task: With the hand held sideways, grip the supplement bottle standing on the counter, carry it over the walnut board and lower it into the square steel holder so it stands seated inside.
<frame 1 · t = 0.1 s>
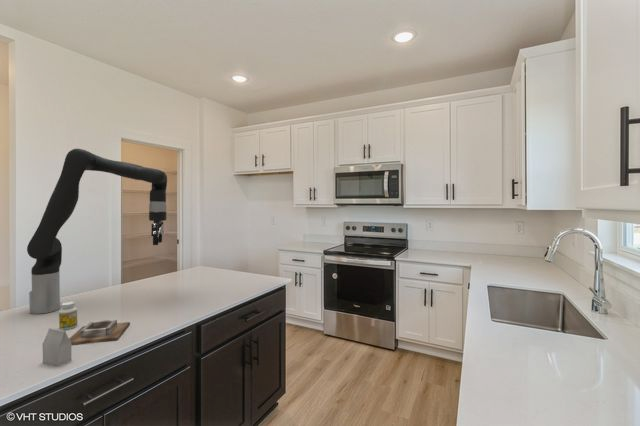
hand: (157, 243, 146), 29 cm above the countertop, tool pointing down, fingers open, 8 cm apart
holder board: (99, 334, 112), on the countertop
grey gable-top carton: (57, 361, 93), on the countertop
supplement bottle: (68, 327, 117), on the countertop
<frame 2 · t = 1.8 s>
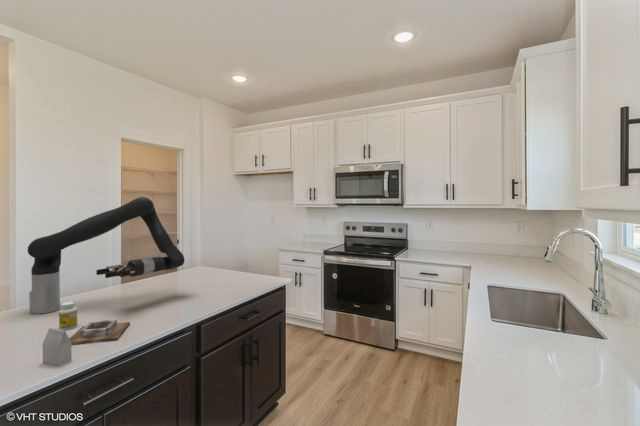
hand: (101, 274, 126), 19 cm above the countertop, tool horizontal, fingers open, 8 cm apart
nothing on the countertop moved.
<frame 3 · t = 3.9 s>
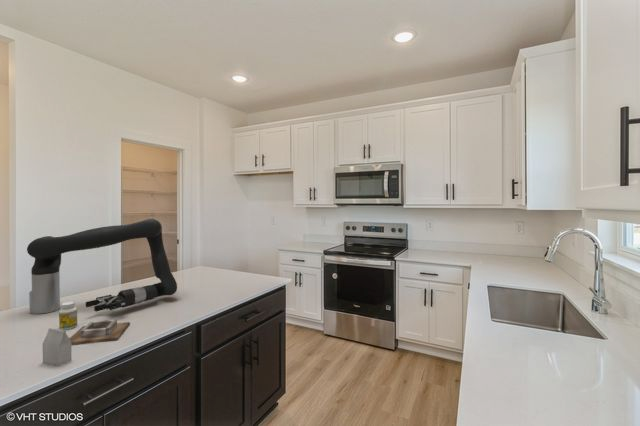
hand: (90, 306, 123), 6 cm above the countertop, tool horizontal, fingers open, 8 cm apart
nothing on the countertop moved.
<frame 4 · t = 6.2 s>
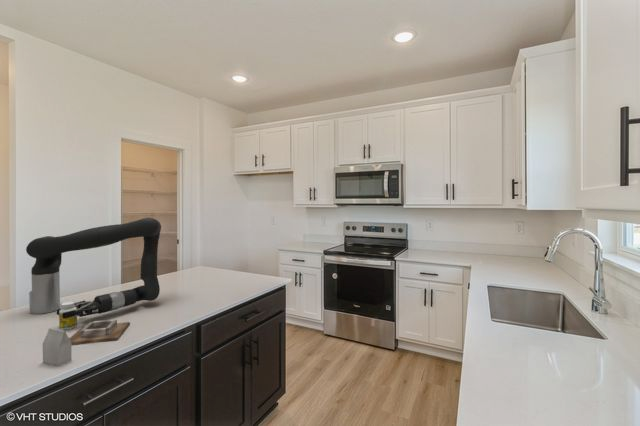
hand: (60, 314, 115), 6 cm above the countertop, tool horizontal, fingers closed on supplement bottle, 5 cm apart
supplement bottle: (68, 327, 117), on the countertop, touching gripper
everything else where it was.
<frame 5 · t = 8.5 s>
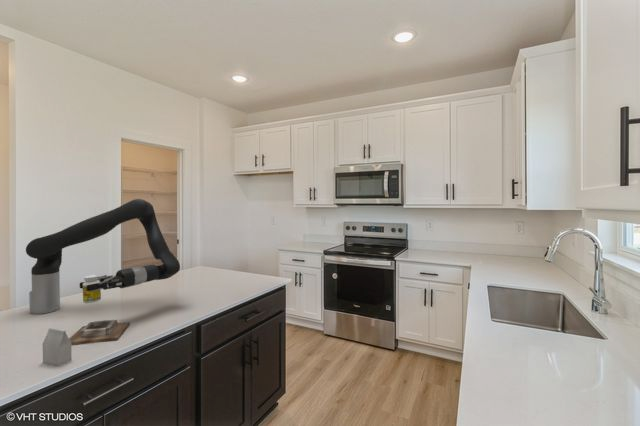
hand: (83, 287, 111), 18 cm above the countertop, tool horizontal, fingers closed on supplement bottle, 5 cm apart
supplement bottle: (92, 301, 113), point 12 cm above the countertop, touching gripper
everything else where it was.
when the fingers open (8 cm above the countertop, at t = 11.2 s): supplement bottle drops 1 cm, resting on holder board.
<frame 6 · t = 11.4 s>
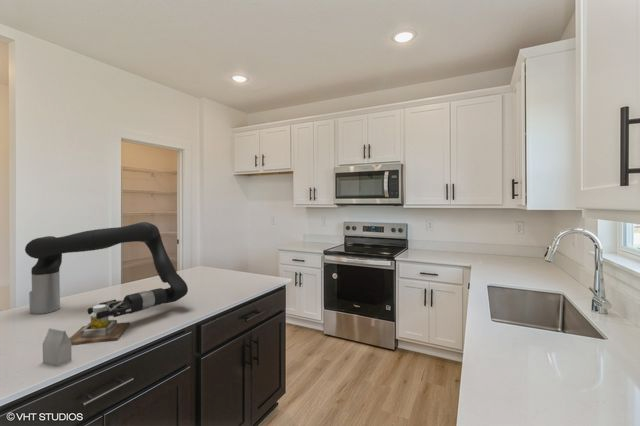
hand: (92, 313, 109), 8 cm above the countertop, tool horizontal, fingers open, 7 cm apart
supplement bottle: (99, 331, 112), point 1 cm above the countertop, touching holder board
everything else where it was.
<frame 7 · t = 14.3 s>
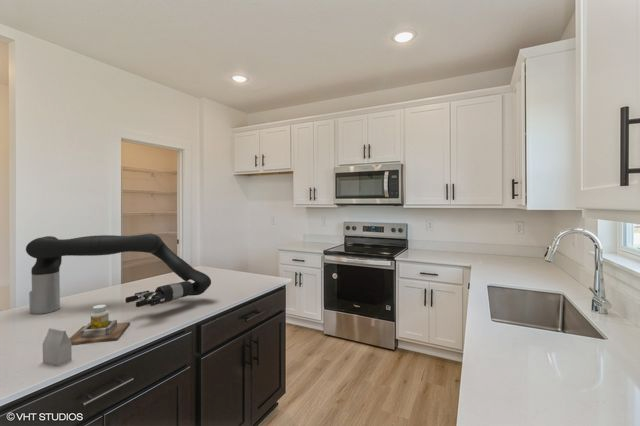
hand: (130, 302, 121), 9 cm above the countertop, tool horizontal, fingers open, 8 cm apart
nothing on the countertop moved.
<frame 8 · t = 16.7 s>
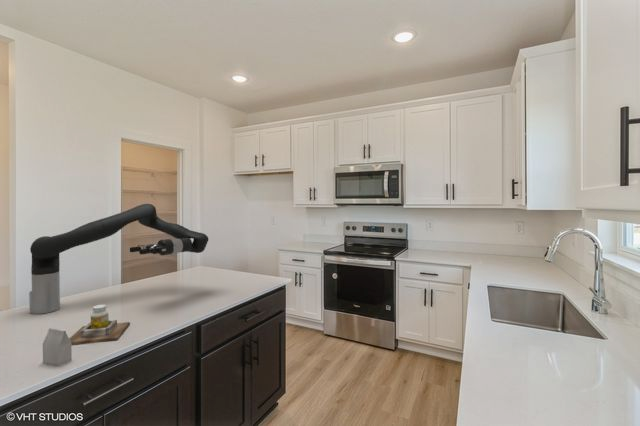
hand: (134, 251, 131), 28 cm above the countertop, tool horizontal, fingers open, 8 cm apart
nothing on the countertop moved.
at the end: supplement bottle 0.2 cm off-centre on the holder board, point 0.8 cm above the holder board's base; supplement bottle tilted 0°; the gripper is holding nothing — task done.
